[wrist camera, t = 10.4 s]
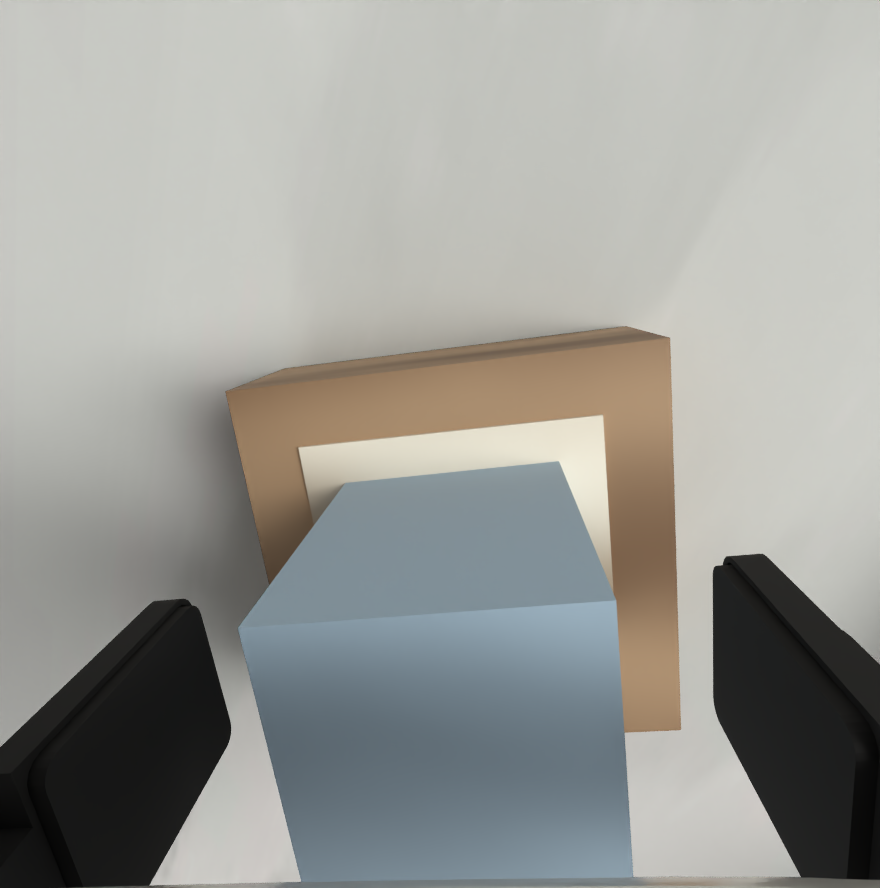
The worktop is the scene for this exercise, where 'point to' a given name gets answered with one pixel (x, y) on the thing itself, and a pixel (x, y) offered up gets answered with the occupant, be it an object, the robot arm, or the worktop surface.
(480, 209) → the worktop surface
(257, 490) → the walnut plinth
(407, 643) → the slate block
